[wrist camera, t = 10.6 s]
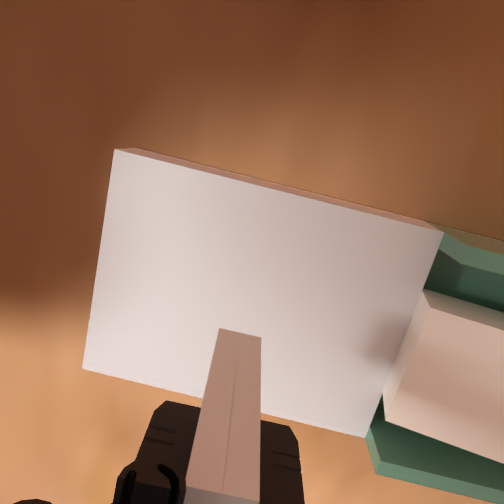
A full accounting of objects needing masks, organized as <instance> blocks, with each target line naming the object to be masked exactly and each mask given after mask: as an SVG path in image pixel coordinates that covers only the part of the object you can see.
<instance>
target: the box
mask: <svg viewBox="0 0 504 504" xmlns="http://www.w3.org/2000/svg"><path fill="white" fill-rule="evenodd" d="M425 222H426V223H428V224H430V225H432V226H433V227H435V228H437V229H439V230H441V231H442V232H444V235H443V238H442V240H441V243H440V245H439V248H438V251H437V253H436V256H435V258H434V261H433V263H432V266H431V269H430V271H429V274H428V276H427V279H426V282H425V284H424V287H423V288H424V289H427V290H431V291H434V292H437V293H441V294H444V295H447V296H450V297H454V298H457V299H460V300H464V301H467V302H470V303H473V304H477V305H480V306H483V307H487V308H490V309H493V310H497V311H500V312H503V313H504V241H502V240H498V239H494V238H490V237H486V236H482V235H478V234H474V233H470V232H466V231H462V230H459V229H455V228H451V227H447V226H443V225H439V224H435V223H431V222H427V221H425ZM365 440H366V443H367V447H368V450H369V453H370V457H371V460H372V463H373V467H374V470H375V473H376V474H378V475H382V476H386V477H390V478H394V479H398V480H403V481H407V482H411V483H415V484H419V485H423V486H427V487H431V488H435V489H439V490H443V491H447V492H451V493H456V494H460V495H464V496H468V497H472V498H476V499H480V500H484V501H488V502H492V503H496V504H504V464H503V463H500V462H497V461H495V460H492V459H489V458H486V457H484V456H481V455H478V454H475V453H473V452H470V451H467V450H464V449H462V448H459V447H456V446H453V445H451V444H448V443H445V442H443V441H440V440H437V439H434V438H432V437H429V436H426V435H423V434H421V433H418V432H415V431H412V430H410V429H407V428H404V427H401V426H399V425H396V424H393V423H390V422H388V421H385V412H384V403H383V393H382V396H381V398H380V401H379V403H378V406H377V409H376V411H375V414H374V416H373V419H372V422H371V424H370V427H369V429H368V432H367V434H366V437H365Z"/></svg>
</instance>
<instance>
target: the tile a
mask: <svg viewBox="0 0 504 504" xmlns="http://www.w3.org/2000/svg"><path fill="white" fill-rule="evenodd" d="M383 403H384V412H385V421H388V422H390V423H393V424H396V425H399V426H401V427H404V428H407V429H410V430H412V431H415V432H418V433H421V434H423V435H426V436H429V437H432V438H434V439H437V440H440V441H443V442H445V443H448V444H451V445H453V446H456V447H459V448H462V449H464V450H467V451H470V452H473V453H475V454H478V455H481V456H484V457H486V458H489V459H492V460H495V461H497V462H500V463H503V464H504V313H503V312H500V311H497V310H493V309H490V308H487V307H483V306H480V305H477V304H473V303H470V302H467V301H464V300H460V299H457V298H454V297H450V296H447V295H444V294H441V293H437V292H434V291H431V290H427V289H424V288H423V289H422V292H421V295H420V297H419V300H418V302H417V305H416V308H415V310H414V313H413V315H412V318H411V320H410V323H409V326H408V328H407V331H406V333H405V336H404V339H403V341H402V344H401V346H400V349H399V352H398V354H397V357H396V359H395V362H394V365H393V367H392V370H391V372H390V375H389V377H388V380H387V383H386V385H385V388H384V390H383Z"/></svg>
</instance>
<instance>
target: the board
mask: <svg viewBox="0 0 504 504" xmlns="http://www.w3.org/2000/svg"><path fill="white" fill-rule="evenodd" d="M443 235H444V232H442V231H441V230H439V229H437V228H435V227H433V226H432V225H430V224H428V223H426V222H425V221H423V220H419V219H415V218H411V217H407V216H403V215H399V214H395V213H392V212H388V211H384V210H380V209H376V208H372V207H368V206H364V205H360V204H356V203H352V202H348V201H344V200H340V199H336V198H332V197H328V196H324V195H321V194H317V193H313V192H309V191H305V190H301V189H297V188H293V187H289V186H285V185H281V184H277V183H273V182H269V181H265V180H261V179H257V178H254V177H250V176H246V175H242V174H238V173H234V172H230V171H226V170H222V169H218V168H214V167H210V166H206V165H202V164H198V163H194V162H190V161H186V160H183V159H179V158H175V157H171V156H167V155H163V154H159V153H155V152H151V151H147V150H143V149H139V148H122V149H114V155H113V162H112V169H111V175H110V182H109V189H108V196H107V203H106V209H105V216H104V223H103V230H102V237H101V243H100V250H99V257H98V264H97V271H96V277H95V284H94V291H93V298H92V305H91V311H90V318H89V325H88V332H87V339H86V345H85V352H84V359H83V366H82V369H85V370H89V371H93V372H98V373H102V374H106V375H110V376H114V377H118V378H122V379H126V380H130V381H134V382H138V383H142V384H146V385H150V386H154V387H158V388H163V389H167V390H171V391H175V392H179V393H183V394H187V395H191V396H195V397H199V398H203V393H204V389H205V385H206V381H207V377H208V373H209V369H210V364H211V360H212V356H213V352H214V348H215V344H216V340H217V335H218V331H219V328H222V329H227V330H231V331H235V332H240V333H244V334H248V335H253V336H257V337H261V413H264V414H268V415H272V416H276V417H280V418H284V419H288V420H293V421H297V422H301V423H305V424H309V425H313V426H317V427H321V428H325V429H329V430H333V431H337V432H341V433H345V434H349V435H353V436H358V437H362V438H365V437H366V434H367V432H368V429H369V427H370V424H371V422H372V419H373V416H374V414H375V411H376V409H377V406H378V403H379V401H380V398H381V396H382V393H383V390H384V388H385V385H386V383H387V380H388V377H389V375H390V372H391V370H392V367H393V365H394V362H395V359H396V357H397V354H398V352H399V349H400V346H401V344H402V341H403V339H404V336H405V333H406V331H407V328H408V326H409V323H410V320H411V318H412V315H413V313H414V310H415V308H416V305H417V302H418V300H419V297H420V295H421V292H422V289H423V287H424V284H425V282H426V279H427V276H428V274H429V271H430V269H431V266H432V263H433V261H434V258H435V256H436V253H437V251H438V248H439V245H440V243H441V240H442V238H443Z"/></svg>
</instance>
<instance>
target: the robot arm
mask: <svg viewBox="0 0 504 504" xmlns="http://www.w3.org/2000/svg"><path fill="white" fill-rule="evenodd" d="M260 413H261V337H257V336H253V335H248V334H244V333H240V332H235V331H231V330H227V329H222V328H219V331H218V335H217V340H216V344H215V348H214V352H213V356H212V360H211V364H210V369H209V373H208V377H207V381H206V385H205V389H204V393H203V398H202V402H201V407H200V408H199V407H194V406H190V405H185V404H181V403H176V402H172V401H167V400H166V401H165V402H164V403H163V404H162V405H160V406H159V407H158V408H157V409H156V410H155V411H154V413H153V415H152V418H151V421H150V423H149V426H148V428H147V431H146V434H145V436H144V439H143V441H142V444H141V447H140V449H139V452H138V454H137V457H136V459H135V461H134V462H132V463H131V464H129V465H128V466H126V467H125V468H124V469H123V470H122V472H121V473H120V475H119V476H118V478H117V483H116V488H115V494H114V499H113V503H111V504H305V502H304V493H303V483H302V474H301V465H300V460H299V457H300V456H299V447H298V441H297V439H296V437H295V435H294V434H293V432H292V430H291V428H290V427H289V426H286V425H281V424H277V423H272V422H268V421H263V420H260ZM14 504H52V503H51V502H47V501H43V500H39V499H31V500H22V501H19V502H17V503H14Z"/></svg>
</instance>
